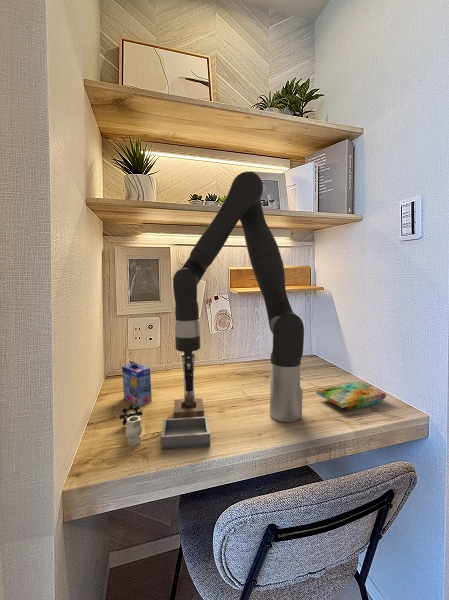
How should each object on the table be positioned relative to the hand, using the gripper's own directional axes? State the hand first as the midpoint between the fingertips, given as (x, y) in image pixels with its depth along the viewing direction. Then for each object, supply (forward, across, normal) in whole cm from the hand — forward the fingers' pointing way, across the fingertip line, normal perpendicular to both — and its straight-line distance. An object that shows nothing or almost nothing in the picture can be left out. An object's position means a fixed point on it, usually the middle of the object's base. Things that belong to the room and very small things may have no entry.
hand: (189, 388), depth 95 cm
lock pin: (+5, 0, 0) cm, 5 cm away
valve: (+10, -8, +16) cm, 20 cm away
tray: (+9, -12, +1) cm, 15 cm away
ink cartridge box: (+9, +15, +18) cm, 26 cm away
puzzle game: (+11, +4, -56) cm, 57 cm away
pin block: (+9, 0, 0) cm, 9 cm away
